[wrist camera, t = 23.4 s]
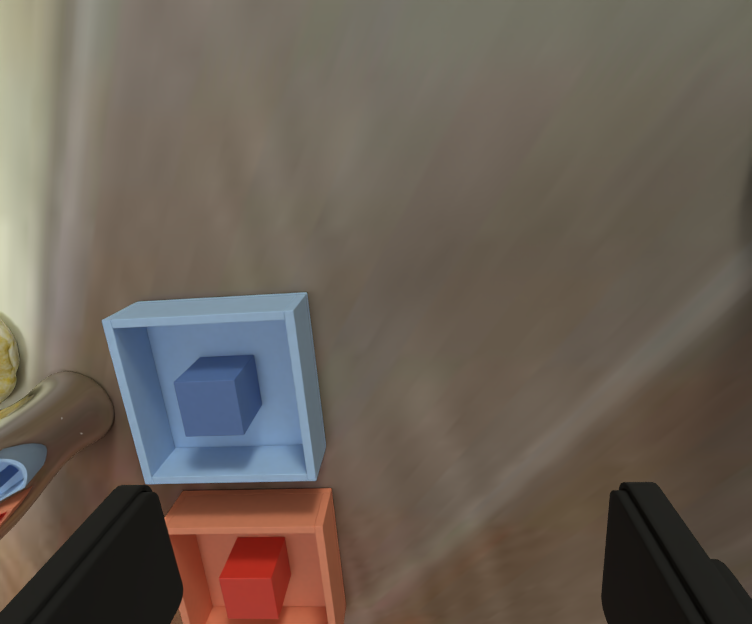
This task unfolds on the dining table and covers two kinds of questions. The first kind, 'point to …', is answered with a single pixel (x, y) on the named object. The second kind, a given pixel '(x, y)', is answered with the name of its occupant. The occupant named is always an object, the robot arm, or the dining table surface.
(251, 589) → the red block
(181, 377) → the blue block
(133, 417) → the blue bin
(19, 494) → the beer glass
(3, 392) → the bread roll
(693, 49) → the dining table surface
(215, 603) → the terracotta bin
